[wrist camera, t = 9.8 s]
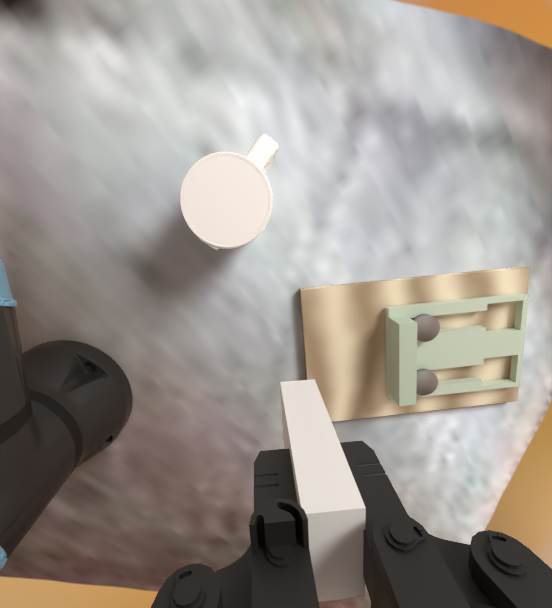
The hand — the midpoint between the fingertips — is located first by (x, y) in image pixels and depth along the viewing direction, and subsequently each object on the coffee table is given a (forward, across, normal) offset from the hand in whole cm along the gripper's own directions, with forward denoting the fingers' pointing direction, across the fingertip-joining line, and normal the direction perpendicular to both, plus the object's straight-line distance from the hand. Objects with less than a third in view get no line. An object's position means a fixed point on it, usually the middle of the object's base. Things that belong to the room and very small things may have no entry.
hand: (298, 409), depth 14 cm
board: (+26, +18, -8) cm, 32 cm away
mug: (+26, -3, +11) cm, 29 cm away
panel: (+24, +22, -8) cm, 34 cm away
